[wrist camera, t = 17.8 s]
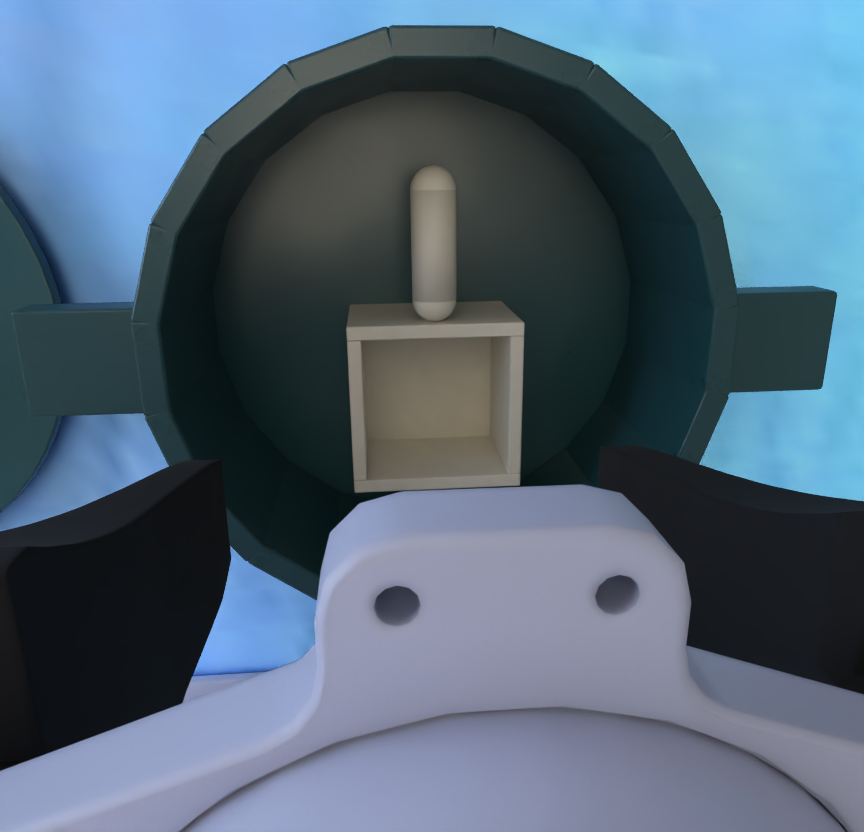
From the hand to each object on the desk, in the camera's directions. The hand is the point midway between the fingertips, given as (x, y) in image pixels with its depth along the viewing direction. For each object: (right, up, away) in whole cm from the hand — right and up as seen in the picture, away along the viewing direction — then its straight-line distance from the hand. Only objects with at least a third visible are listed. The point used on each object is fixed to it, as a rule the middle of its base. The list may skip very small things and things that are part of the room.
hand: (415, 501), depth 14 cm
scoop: (0, +5, +7) cm, 9 cm away
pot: (0, +5, +8) cm, 9 cm away
